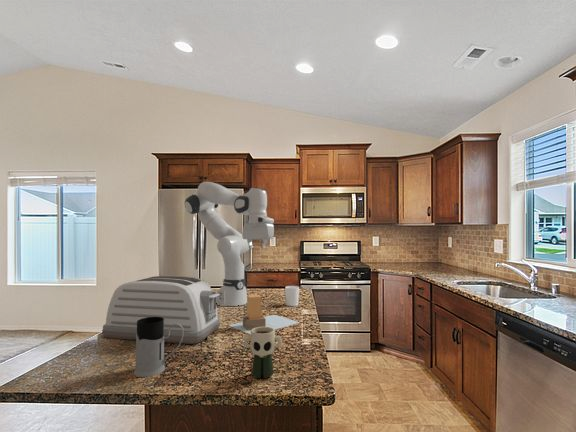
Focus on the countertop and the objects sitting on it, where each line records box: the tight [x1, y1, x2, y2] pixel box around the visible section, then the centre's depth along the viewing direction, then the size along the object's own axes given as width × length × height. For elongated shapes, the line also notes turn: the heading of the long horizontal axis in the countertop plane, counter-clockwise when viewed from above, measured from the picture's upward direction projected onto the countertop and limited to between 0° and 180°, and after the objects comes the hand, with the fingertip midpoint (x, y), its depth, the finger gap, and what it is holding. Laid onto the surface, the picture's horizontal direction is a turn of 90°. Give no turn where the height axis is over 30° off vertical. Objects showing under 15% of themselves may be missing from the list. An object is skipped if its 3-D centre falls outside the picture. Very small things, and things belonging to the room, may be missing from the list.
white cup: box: [284, 285, 300, 307], centre depth 181 cm, size 8×8×10 cm
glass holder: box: [133, 317, 184, 378], centre depth 98 cm, size 9×14×15 cm, turn 94°
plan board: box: [228, 314, 301, 336], centre depth 141 cm, size 18×26×1 cm
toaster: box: [101, 275, 221, 345], centre depth 133 cm, size 23×45×22 cm, turn 79°
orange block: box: [246, 294, 262, 319], centre depth 138 cm, size 5×5×9 cm
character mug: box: [243, 327, 282, 379], centre depth 94 cm, size 11×7×13 cm, turn 91°
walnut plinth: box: [242, 314, 266, 330], centre depth 137 cm, size 8×8×4 cm
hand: (257, 248), depth 156 cm, fingers open, 8 cm apart
